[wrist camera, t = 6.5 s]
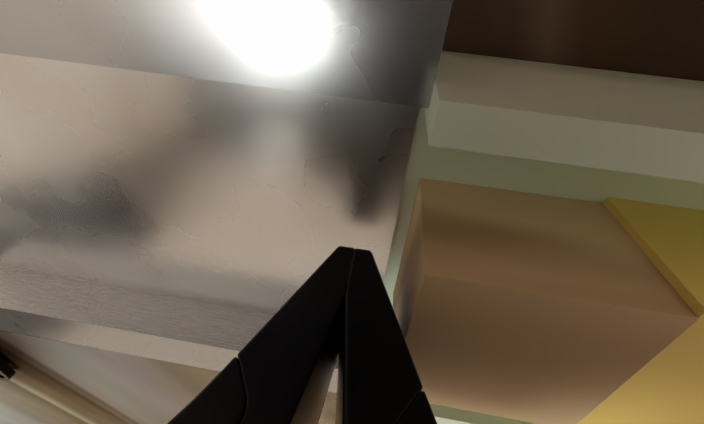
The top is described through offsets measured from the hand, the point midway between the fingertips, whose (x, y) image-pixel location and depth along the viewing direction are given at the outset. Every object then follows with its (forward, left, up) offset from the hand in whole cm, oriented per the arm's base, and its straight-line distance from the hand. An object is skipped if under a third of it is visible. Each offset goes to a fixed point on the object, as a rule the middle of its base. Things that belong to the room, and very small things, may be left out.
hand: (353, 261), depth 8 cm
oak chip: (0, -3, -1) cm, 3 cm away
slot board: (0, +6, -2) cm, 6 cm away
